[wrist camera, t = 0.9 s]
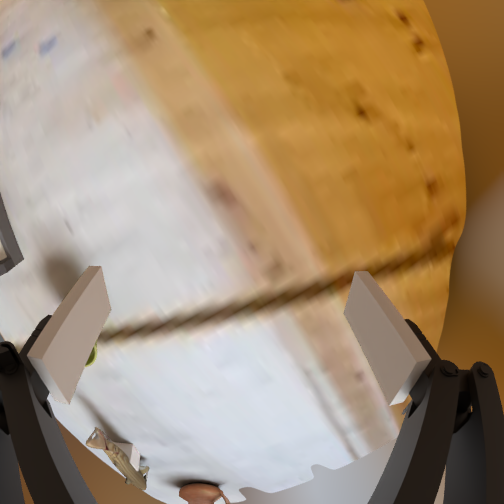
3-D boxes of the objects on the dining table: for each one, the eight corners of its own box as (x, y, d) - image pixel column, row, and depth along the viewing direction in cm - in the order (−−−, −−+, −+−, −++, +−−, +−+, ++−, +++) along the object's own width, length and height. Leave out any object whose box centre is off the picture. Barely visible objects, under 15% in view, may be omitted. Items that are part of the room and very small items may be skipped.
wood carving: (114, 407, 51) (105, 446, 40) (157, 471, 63) (156, 500, 53) (82, 404, 50) (70, 440, 39) (131, 469, 62) (128, 497, 52)
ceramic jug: (182, 493, 71) (184, 524, 58) (169, 480, 66) (170, 515, 53) (230, 490, 73) (235, 522, 60) (223, 477, 68) (228, 514, 55)
